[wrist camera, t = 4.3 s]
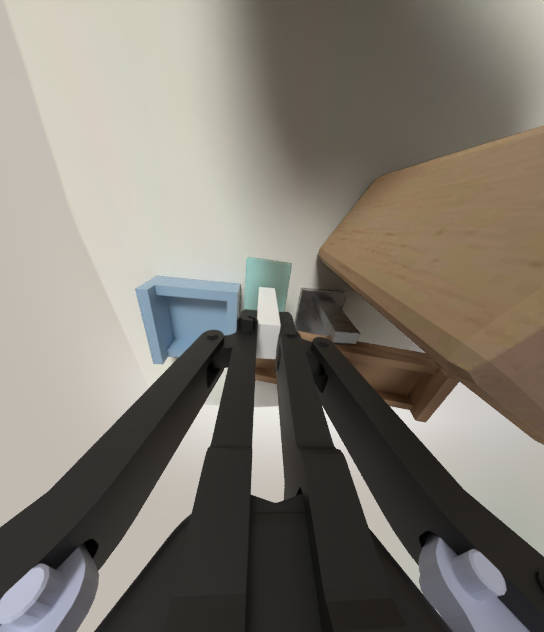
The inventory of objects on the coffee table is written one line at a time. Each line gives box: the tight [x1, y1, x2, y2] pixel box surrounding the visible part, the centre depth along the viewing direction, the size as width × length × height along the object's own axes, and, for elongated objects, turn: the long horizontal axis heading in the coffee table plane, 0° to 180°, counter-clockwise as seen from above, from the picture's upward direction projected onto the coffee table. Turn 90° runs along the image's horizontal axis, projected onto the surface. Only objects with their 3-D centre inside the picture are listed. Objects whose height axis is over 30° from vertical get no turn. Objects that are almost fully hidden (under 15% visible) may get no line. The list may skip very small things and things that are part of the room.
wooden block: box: [318, 126, 544, 445], centre depth 14 cm, size 10×10×20 cm
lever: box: [244, 257, 459, 422], centre depth 19 cm, size 20×13×4 cm, turn 83°
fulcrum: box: [294, 288, 360, 344], centre depth 24 cm, size 6×11×9 cm, turn 173°
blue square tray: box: [135, 276, 240, 364], centre depth 25 cm, size 10×10×4 cm
